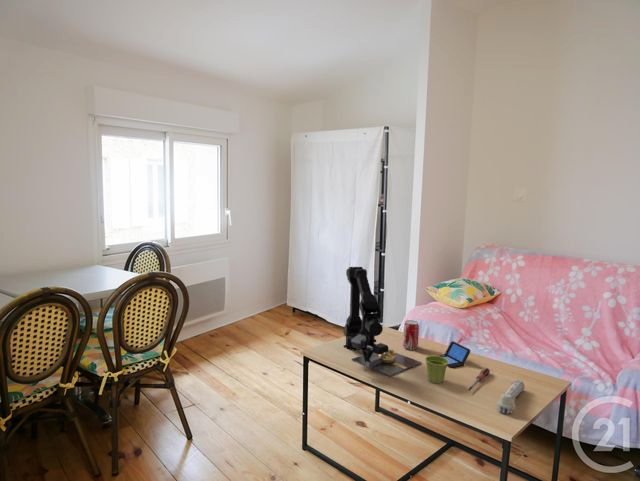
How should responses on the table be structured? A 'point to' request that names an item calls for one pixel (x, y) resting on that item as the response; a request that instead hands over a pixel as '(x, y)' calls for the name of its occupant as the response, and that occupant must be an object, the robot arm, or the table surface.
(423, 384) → the table surface
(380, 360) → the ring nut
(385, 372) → the plate
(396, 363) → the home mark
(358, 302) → the robot arm
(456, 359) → the handheld game console
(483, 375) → the screwdriver
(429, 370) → the plant pot
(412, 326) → the soda can
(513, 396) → the light grey elongated piece
